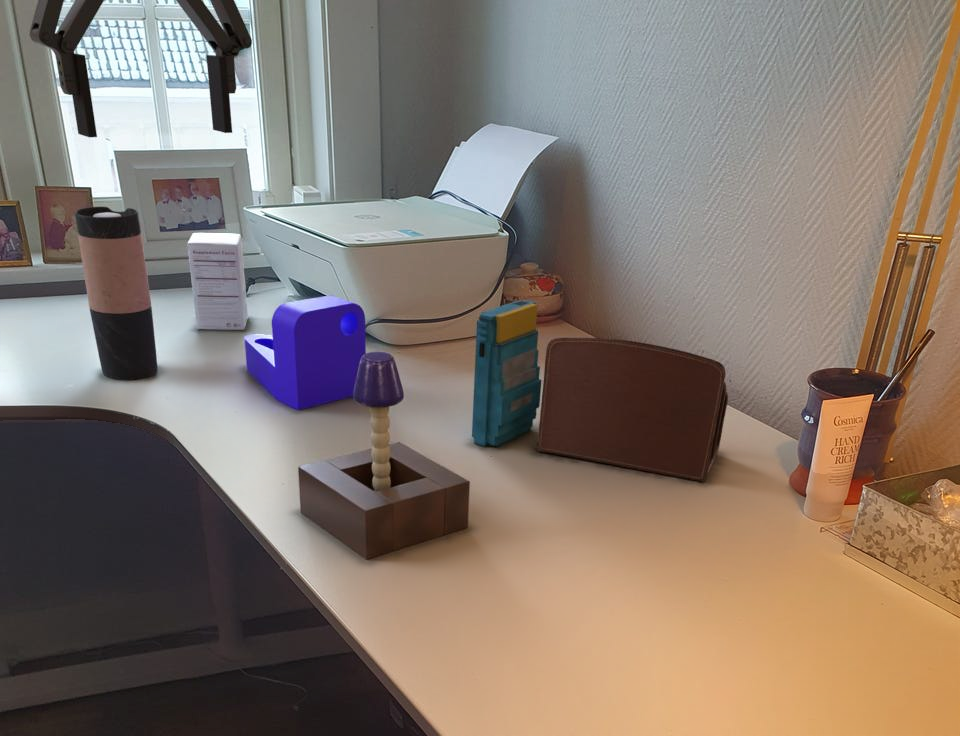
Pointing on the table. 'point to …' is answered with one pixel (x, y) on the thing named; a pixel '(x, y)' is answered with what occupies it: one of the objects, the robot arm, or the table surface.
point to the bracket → (309, 351)
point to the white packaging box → (218, 281)
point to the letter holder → (632, 406)
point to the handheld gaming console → (505, 373)
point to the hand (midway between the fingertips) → (157, 133)
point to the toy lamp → (379, 407)
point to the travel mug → (118, 291)
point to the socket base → (383, 500)
